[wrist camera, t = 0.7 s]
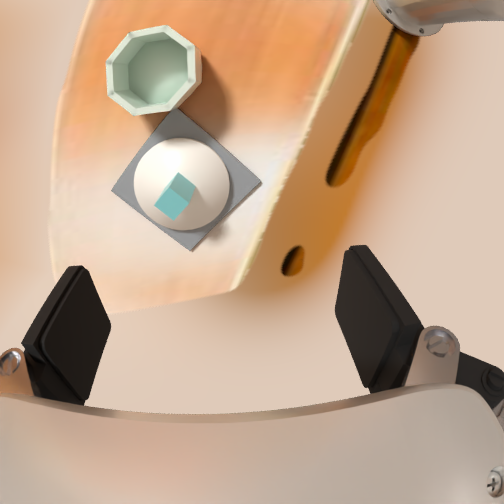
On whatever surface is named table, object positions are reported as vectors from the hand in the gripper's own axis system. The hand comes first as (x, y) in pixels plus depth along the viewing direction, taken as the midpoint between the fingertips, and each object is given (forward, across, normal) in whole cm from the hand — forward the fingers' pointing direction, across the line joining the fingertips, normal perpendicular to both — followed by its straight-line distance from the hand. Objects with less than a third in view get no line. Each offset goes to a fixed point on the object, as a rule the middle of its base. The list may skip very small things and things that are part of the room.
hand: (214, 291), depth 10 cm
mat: (+30, +6, +5) cm, 31 cm away
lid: (+29, +6, +5) cm, 30 cm away
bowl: (+29, +7, -10) cm, 32 cm away
